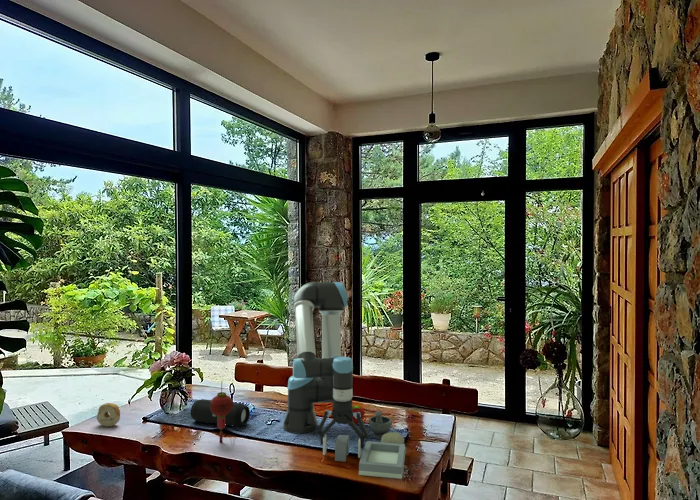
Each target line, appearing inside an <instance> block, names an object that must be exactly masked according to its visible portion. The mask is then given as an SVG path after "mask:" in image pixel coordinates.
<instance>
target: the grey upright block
mask: <svg viewBox="0 0 700 500" xmlns="http://www.w3.org/2000/svg"><path fill="white" fill-rule="evenodd" d="M334 446H335V447H334V461H335V462H346V461H347V456H349V453H350V451H349V449H350V436H349V435H344V434H338V436H337V438H336V439H335V442H334Z"/></svg>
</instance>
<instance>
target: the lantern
mask: <svg viewBox="0 0 700 500" xmlns="http://www.w3.org/2000/svg"><path fill="white" fill-rule="evenodd" d="M220 389H221V390H220V391H221V392H217V395H216V396H213V397H212V399H210V400H211V402H210V411H211V412H212V413H213V414H214V415H217V424H216V427H217V429H219V444H222V443H223V440H224V439H223V436H224V435H223V434H224V432H223V430H224V429H225V428H226V425H225V417H226V415H227V414H228V413H230V411H231V410H232V408H233V403H234V402H233V398H231V396H230V395H227V393H226V392H225V391H223V382H221V388H220Z"/></svg>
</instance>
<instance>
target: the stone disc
mask: <svg viewBox="0 0 700 500" xmlns="http://www.w3.org/2000/svg"><path fill="white" fill-rule="evenodd" d="M120 419H121V409H120V407H119V405H117V404H116V403H114V402H113V403H112V402H105V403H103V404H101V405H99V407H98V412H97V414H96V420H97V422H98V423H99V425H100V426H101V425H102V426H103V427H108V426H110V427H113V426H115V425H116V424H118V423H119V421H121V420H120Z"/></svg>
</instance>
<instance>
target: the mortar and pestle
mask: <svg viewBox="0 0 700 500" xmlns="http://www.w3.org/2000/svg"><path fill="white" fill-rule="evenodd" d="M382 414H383V412H382V411H380V410H377V411H375V413H374V415H375V416H371V417H370V418H369V419H368V426H369V429H370V431H371V432H372V437H373V438H374V439H377V438H378V439H379V440H381V438H382V436H383V435H384V434H386V433H390V429H391V427H392V424H393V423H392V419H391V418H390V417H389V416H384V415H382Z"/></svg>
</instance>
